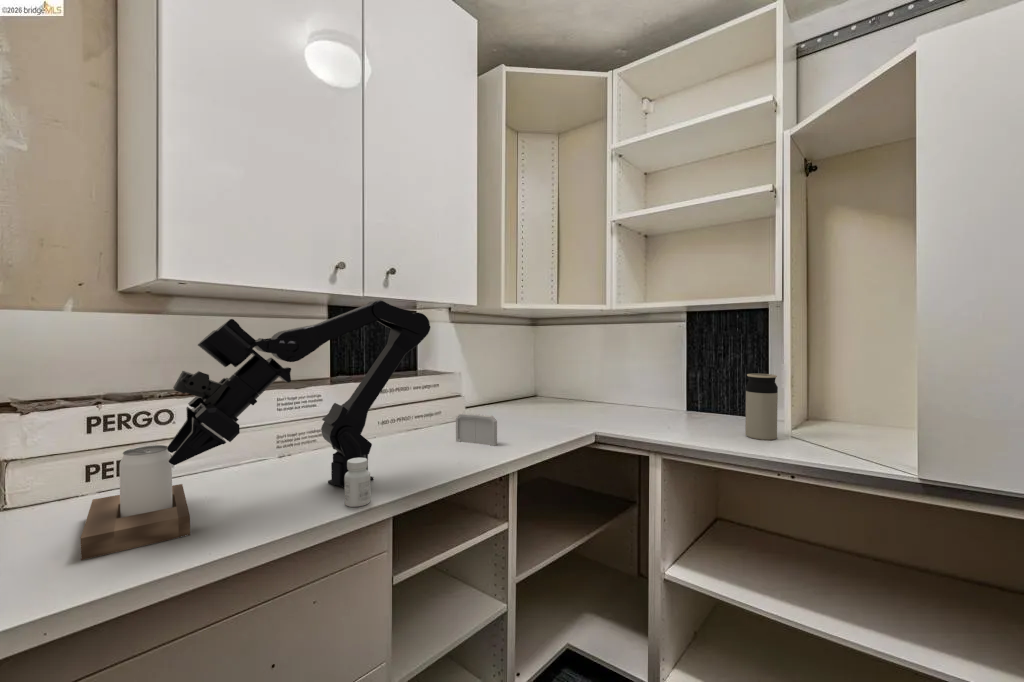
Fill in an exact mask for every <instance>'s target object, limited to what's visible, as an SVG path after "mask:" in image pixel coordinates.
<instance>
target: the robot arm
mask: <svg viewBox="0 0 1024 682" xmlns="http://www.w3.org/2000/svg"><path fill="white" fill-rule="evenodd" d="M374 322H377V323H380V324H381V325H383V326H384V327H386V328H389V329H390V330H389V332H388V333H389V335H388V338H387V343H386V345H385V347H383V350H382V351H381V352H380V354H379V355H378V356H377V358H376V360H375V361H374V362H373V364H372V365H371V367H370V368H369V370H368V371H367V372H366V374H365V375H364V377H363V378H362V380H361V381H360V383H359V384H358V386H357V387H356V388H355V390H354V392H353V393H352V394H351V396H350V397H349V399H348V400H347V401H345V402H344V403H342V404H338V403H336V402H334V403H333V404H332V406H331V407H330V410H329V411H328V413H327V414H326V415H325V416H324V417H323V418H322V419H321V420H322V421H323V423H322V425H321V428H320V431H321V435H322V437H323V439H324V440H325V442H328V443H329V444H330V445H331V447H332V449H333V450H334V451H336V452H335V453H332V461H331V463H330V464H331V466H330V467H331V468H330V470H331V471H330V472H331V474H330V475H331V479H329V480H327V484H329V485H333V486H337V487H341V488H344V489H345V480H344V478H345V474H346V473H347V472H348V471H349V470H348V469H347V461H348V460H349V459H352V458H366V459H367V461H368V462H369V454H370V452H371V449H372V446H373V443H371V441H369V440H368V439H367V438H366V437H365V436H364V435H362V432H363V430H364V428H365V425H366V421H367V418H368V414H369V413H368V412H369V411H370V409H371V407H372V406H373V404H374V402H375V401H376V400H377V398H378V397H379V395H380V394H381V393H382V391H383V389H384V388H385V386H386V385H387V383H388V382H389V381H390V379H391V377H392V375H393V374H394V373H395V372H396V369H397V368H398V367H399V365H401V364H400V363H401V362H402V361H403V359H404V358H405V357H406V355H407V354H408V353H409V352H410V351H412V350H413V349H415V348H416V347H418V345H420V344H421V342H422V341H423V340H424V339H425V338H426V337H427V336H428V335H429V333H430V331H431V324H430V320H429V318H428V317H427V316H426V315H425V314H424V313H422V312H410V311H408V310H406V309H403V308H400V307H397V306H394V305H392V304H389V302H386V301H384V300H373V301H370V302H368V303H367V304H364V305H362V306H359V307H356V308H354V309H351V310H349V311H346V312H344V313H341V314H339V315H336V316H334V317H331V318H328V319H326V320H323V321H320V322H318V323H316V324H310V325H306V326H300V327H295V328H291V329H285V330H281V331H278V332H276V333H274V334H273V335H272V336H271V337H269V338H260V337H259V338H257V339H255V338H254V337H253V336H252V335H250V334H249V333H248V332H247V331H245V330H244V329H243V327H242V326H241V325H240V324H239V322H237V321H236V320H235V319H233V318H229V319H228V320H227V321H226V322H225V323H224V324H222V325H220V326H219V327H218V328H217V329H215V330H212V331H211V332H210V333H208V335H207V336H205V337H204V338H203V339H202V340H201V341H199V343H197V346H198V347H199V348H201V349H202V350H203V351H205V352H206V353H207V354H208V355H209V356H210V357H211V358H213V359H214V360H215V361H216V362H218V363H219V364H221V366H223V367H224V368H226V367H229V366H230V365H232V367H234V368H237V367H238V366H239V365H241V364H242V363H243V362H244V364H243V365H241V367H239V368H238V369H237V371H234V373H233V374H231V376H230V377H223V378H222V379H221V380H220V381H214V380H211V379H210V374H208V373H205V372H202V371H199V370H198V371H197V372H195V373H191V372H188V371H185V370H182V371H181V373H179V376H178V378H177V380H176V382H175V384H174V385H173V388H172V389H173V390H174V391H176V392H177V393H181V394H190V395H193V396H194V398H192V399H191V400H190V401H189V402H188V403H187V404H188V406H186V410H185V411H186V421H184V423H183V424H182V425H181V427H180V428H179V430H178V431H177V433H176V435H175V436H174V437H173V438H172V440H171V441H170V443H169V444H168V445H167V446H168V448H167V449H168V451H169V453H170V454H171V453H172V454H171V458H170V459H169V463H171V464H172V466H176V465H179V464H181V463H183V462H186V461H187V460H189V459H191V458H194V457H197V456H198V455H200V454H203V453H205V452H207V451H210V450H212V449H214V448H217V447H219V446H221V445H225V444H226V443H227V442H229V443H232V441H233V440H234V439H235V438H236V437H238V435H239V434H240V432H241V431H240V424H239V423H238V421H239V418H238V417H239V416H240V415H241V414H242V413H243V412H245V410H247V409H248V408H249V406H250V405H251V406H254V405H255V404H256V403H258V400H257V399H258V398H259V397H260V396H261V395H262V394H264V392H265V391H266V390H267V389H268V388H269V387H270V386H271V385H273V383H274V382H275V381H277V380H278V379H280V380H282V381H283V382H285V383H291V382H292V378H291V372H292V368H291V367H289V366H286V367H283V366H282V365H281V364H279V362H278V361H276V360H275V359H277V360H280V361H284V362H289V363H294V362H298V361H301V360H302V359H304V358H305V357H307V356H309V355H311V354H312V353H313V352H315V351H316V350H317V349H319V348H320V347H321V346H322V345H325V343H327V342H329V341H331V340H334V339H337V338H338V337H341V336H343V335H345V334H349V333H350V332H353V331H355V330H358V329H359V328H360V329H361V328H363V327H365V326H367V325H370V324H372V323H374ZM254 348H255V350H254ZM256 350H257V351H258V352H257V351H256ZM259 352H263V353H266V354H267V353H268V354H271V355H272V356H273V357H274V358H275V359H274V358H273V357H269V358H267V359H265V358H264V357H263V356H262V355H260V353H259ZM251 355H252V357H251V358H249V356H251ZM248 358H249V359H248ZM246 359H248V360H247V361H246V362H245V360H246ZM189 406H190V407H191V408H190V407H189ZM366 470H368V471H369V465H368V466H367V468H366ZM372 480H374V476H371V475H370V482H371V481H372Z"/></svg>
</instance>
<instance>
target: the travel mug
mask: <svg viewBox="0 0 1024 682" xmlns="http://www.w3.org/2000/svg"><path fill="white" fill-rule="evenodd" d="M746 376H747V377H748V381H747V383H746V384H745V433H744V434H745V436H746V437H747V438H750V439H754V440H761V441H773V440H776V439H777V438H778V402H779V401H778V396H779V395H778V385H777V383H776V378H777V377H778V375H776V374H772V373H771V374H769V373H747V374H746Z"/></svg>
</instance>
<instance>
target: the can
mask: <svg viewBox="0 0 1024 682" xmlns="http://www.w3.org/2000/svg"><path fill="white" fill-rule="evenodd" d="M168 446H169V445H164V444H163V445H162V444H161V445H160V444H158V445H157V444H155V445H154V444H153V445H145V446H139V447H134V448H130V449H126V450H124V451H123V452H122V455H123V456H122V458H121V460H120V461H119V495H120V515H121V518H122V517H127V516H132V515H137V514H142V513H147V512H153V511H158V510H163V509H168V508H173V505H172V486H173V465H172V464H171V463H169V459H170V458H171V457H172V454H171V453H170V452H169V451H168V449H167V448H168Z"/></svg>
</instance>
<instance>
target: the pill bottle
mask: <svg viewBox="0 0 1024 682" xmlns="http://www.w3.org/2000/svg"><path fill="white" fill-rule="evenodd" d="M367 466H368V467H369V460H368V461H367V459H366V458H352V459H349V460H348V461H347V469H348V470H349V471H348V472H347V473H346V474H345V478H344V480H345V488H344V504H345V505H346V506H347V507H350V508H357V507H362V506H363V507H364V506H366V505H368V504H369V503H370V502H371V497H372V496H371V481H370V476H371V471H369V469H368V470H366V468H367Z"/></svg>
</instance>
